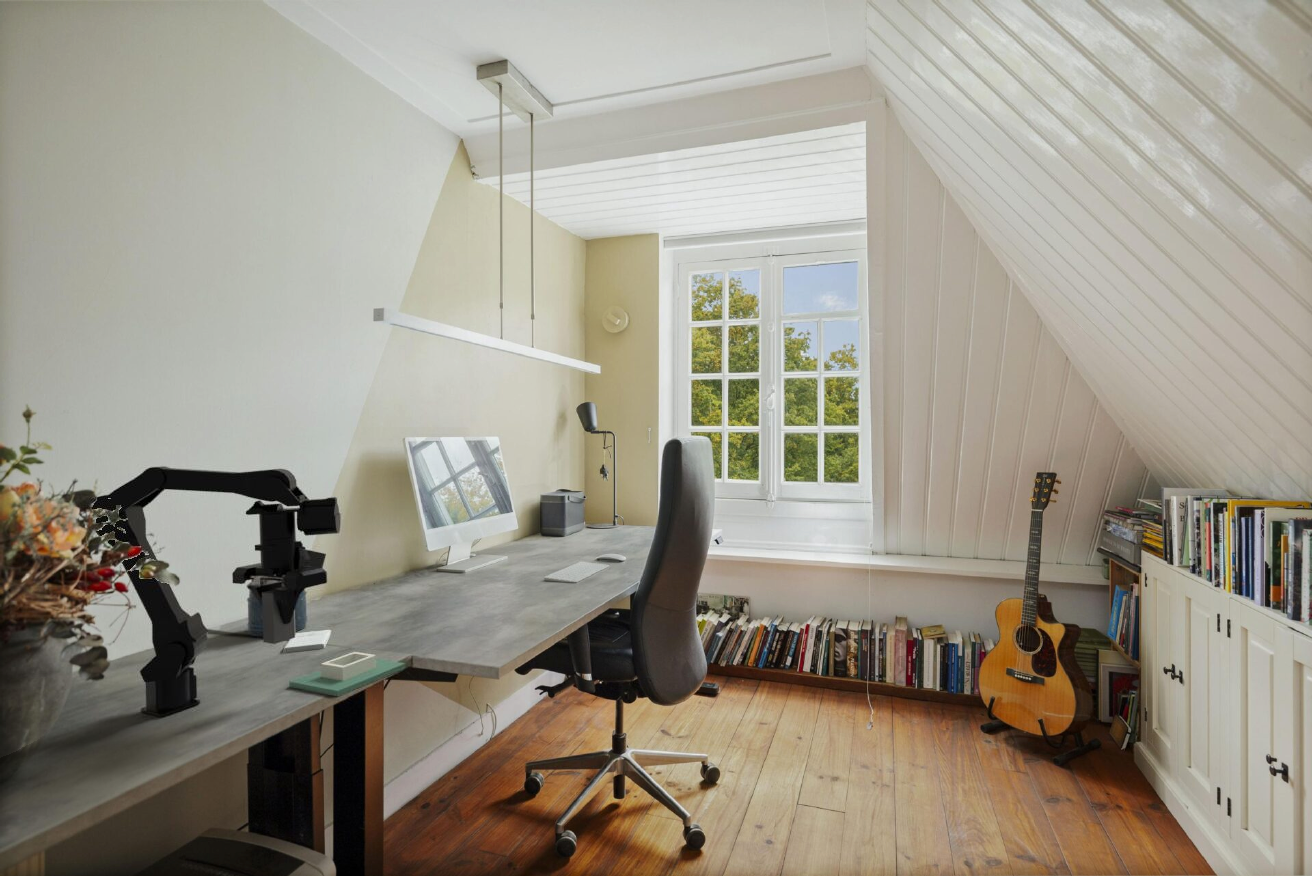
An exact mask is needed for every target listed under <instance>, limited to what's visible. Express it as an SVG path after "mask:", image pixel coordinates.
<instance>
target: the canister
mask: <svg viewBox="0 0 1312 876" xmlns="http://www.w3.org/2000/svg"><path fill="white" fill-rule="evenodd" d="M274 576H276V575H274ZM251 585H252V583H251V581H250V582H249V583H247V584H246V588H247V589H248V586H251ZM248 591H249V594H248V597H247V599H246V601H247V618H248V619H247V630H248V634H249V636H252V637H263V613H262V606H261V604H260V603H259V601H258V600H257V598H256V597H255V596H254V594H253V593H252V591H251V590H250V589H248ZM307 622H308V615H307V591H306V589H304V590H303V591H302V592H301V594H300V596H299V598H298V601H297V604H296V607H295V632H298V631H300V630H303V629H305V628H306V626H307Z"/></svg>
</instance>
